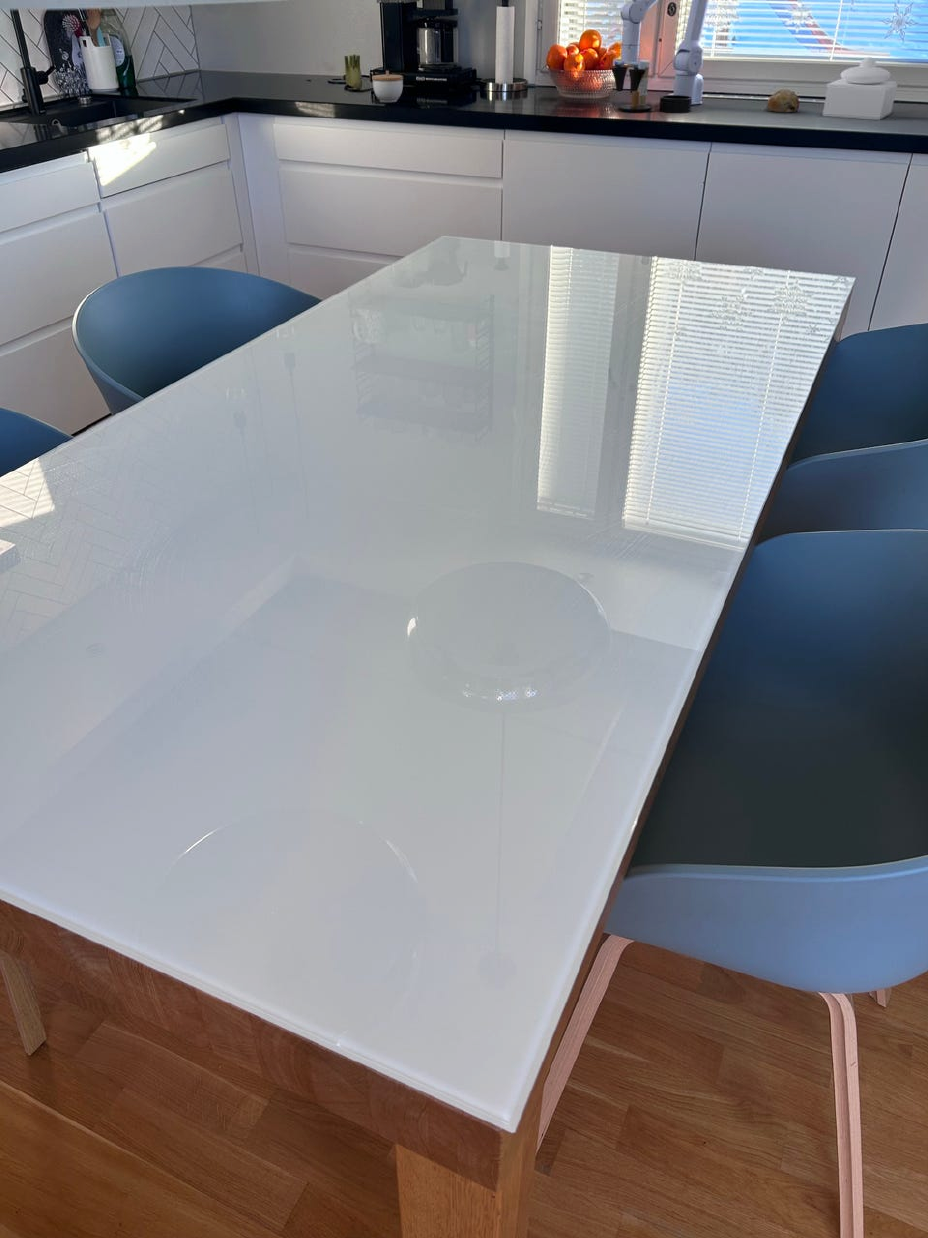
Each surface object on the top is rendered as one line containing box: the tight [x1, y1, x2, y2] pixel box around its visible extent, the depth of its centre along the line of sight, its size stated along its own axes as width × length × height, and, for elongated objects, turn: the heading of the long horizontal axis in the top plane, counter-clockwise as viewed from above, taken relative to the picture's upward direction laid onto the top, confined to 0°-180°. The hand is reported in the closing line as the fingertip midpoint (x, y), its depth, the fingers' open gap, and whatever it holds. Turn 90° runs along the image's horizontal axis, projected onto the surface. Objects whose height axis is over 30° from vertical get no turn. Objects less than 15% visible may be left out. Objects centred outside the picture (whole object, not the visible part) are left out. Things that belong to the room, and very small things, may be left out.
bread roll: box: [765, 89, 800, 114], centre depth 310 cm, size 10×10×8 cm
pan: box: [658, 94, 692, 114], centre depth 312 cm, size 10×10×4 cm
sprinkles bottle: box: [637, 59, 651, 106], centre depth 319 cm, size 5×5×13 cm
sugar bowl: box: [371, 70, 404, 103], centre depth 333 cm, size 11×11×9 cm
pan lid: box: [617, 91, 652, 113], centre depth 312 cm, size 11×11×6 cm
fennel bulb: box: [344, 53, 363, 91], centre depth 358 cm, size 6×5×12 cm
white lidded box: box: [821, 56, 899, 121], centre depth 300 cm, size 18×18×16 cm
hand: (626, 92), depth 318 cm, fingers open, 7 cm apart
